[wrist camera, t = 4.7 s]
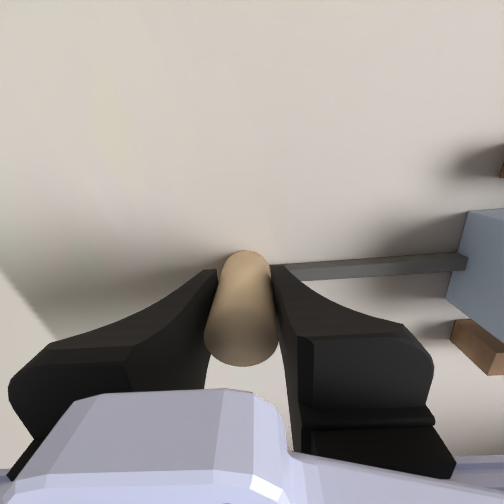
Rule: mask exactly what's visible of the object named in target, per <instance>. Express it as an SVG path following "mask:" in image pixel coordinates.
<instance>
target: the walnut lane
mask: <svg viewBox="0 0 504 504" xmlns="http://www.w3.org/2000/svg"><path fill="white" fill-rule="evenodd" d="M499 178H504V164H503V167H502V171H501V174H500V177H499ZM450 341H451V342H452V343H453V344H454V345H456V346H457V347H458V348H459V349H460V350H461V351H462V352H463V353H464V354H465V355H466V356H467V357H468V358H469V359H470V360H471V361H472V362H473V363H475V364H476V365H477V366H478V367H479V368H480V369H481V370H482V371H483V372H484V373H485V374H486V375H487V376H491V375H504V343H503V342H501V341H500V340H499V339H497V338H496V337H495V336H493V335H492V334H491V333H489V332H488V331H487V330H485V329H484V328H483V327H481V326H480V325H479V324H477V323H476V322H475V321H473V320H472V319H468V320H456V322H455V325H454V328H453V332H452V335H451V338H450Z"/></svg>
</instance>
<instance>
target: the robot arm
mask: <svg viewBox="0 0 504 504" xmlns="http://www.w3.org/2000/svg"><path fill="white" fill-rule="evenodd" d="M270 269H271V283H272V291H273V296H274V304H275V312H276V320H277V328H278V335H279V344H280V349H281V353H282V358H283V364H284V370H285V378H286V387H287V395H288V404H289V413H290V422H291V431H292V440H293V449H294V452H293V451H287V442H286V433H285V425H284V423H283V421H282V419H281V417H280V414H279V412H278V410H277V408H276V407H275V406H273V405H272V404H270V403H269V402H267V401H265V400H264V399H262V398H260V397H259V396H257V395H256V394H254V393H252V392H247V391H241V390H234V389H227V388H222V389H204V385H205V379H206V372H207V368H208V363H209V359H210V356H211V353H210V352H209V351H208V349H207V347H206V345H205V342H204V331H205V327H206V324H207V320H208V317H209V314H210V310H211V307H212V303H213V300H214V296H215V293H216V290H217V286H218V277H217V270H216V269H211V270H203V271H201V272H200V273H198V274H197V275H196V276H194V277H193V278H192V279H191V280H189V281H188V282H187V283H185V284H184V285H183V286H181V287H180V288H178V289H177V290H175V291H174V292H172V293H171V294H169V295H168V296H167V297H165V298H163V299H162V300H160V301H158V302H157V303H155V304H153V305H151V306H149V307H148V308H146V309H144V310H142V311H140V312H137V313H135V314H133V315H131V316H129V317H126V318H124V319H122V320H120V321H117V322H114V323H112V324H109V325H107V326H104V327H101V328H98V329H95V330H92V331H89V332H86V333H83V334H80V335H76V336H73V337H69V338H66V339H63V340H59V341H55V342H52V343H49V344H48V345H47V346H46V347H45V348H44V349H43V350H41V352H39V353H38V354H37V355H36V356H35V357H34V358H33V359H32V360H31V361H30V362H29V363H27V364H26V365H25V366H24V367H23V368H22V369H21V370H20V371H18V373H16V374H15V375H14V377H13V378H12V379H11V380H10V383H9V386H8V396H9V401H10V403H11V405H12V407H13V409H14V411H15V412H16V414H17V415H18V416H19V418H20V420H21V421H22V422H23V424H24V425H25V427H26V428H27V430H28V431H29V433H30V434H31V435H32V437H33V438H34V440H33V441H32V443H31V444H30V445H29V446H28V448H27V449H26V450H25V452H24V453H23V454H22V456H21V457H20V458H19V459H18V461H17V462H16V463H15V464H14V466H13V467H12V468H11V469H0V504H504V455H477V456H452V455H451V453H450V452H449V450H448V449H447V447H446V446H445V444H444V442H443V441H442V439H441V438H440V436H439V435H438V433H437V432H436V430H435V429H434V427H433V426H432V425H435V422H436V421H435V418H434V416H433V415H432V413H431V412H430V410H429V409H428V407H427V406H426V404H425V403H426V400H427V397H428V393H429V390H430V386H431V383H432V379H433V374H434V364H433V360H432V357H431V356H430V354H429V353H428V352H427V351H426V349H425V348H424V347H423V346H422V345H421V343H420V342H419V341H418V340H417V339H416V338H415V336H414V335H413V334H412V333H411V332H410V331H409V330H408V329H407V328H406V327H405V326H404V325H403V324H400V323H396V322H392V321H388V320H384V319H380V318H376V317H372V316H369V315H366V314H363V313H360V312H357V311H354V310H351V309H349V308H346V307H344V306H341V305H339V304H337V303H335V302H333V301H331V300H328V299H327V298H325V297H323V296H321V295H320V294H318V293H316V292H315V291H313V290H312V289H310V288H309V287H307V286H306V285H305V284H303V283H302V282H301V281H300V280H299V279H297V278H296V277H295V276H294V275H293V274H292V273H291V272H290V271H289V270H288V269H287V268H286V267H285V266H284V265H272V266H270Z"/></svg>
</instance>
